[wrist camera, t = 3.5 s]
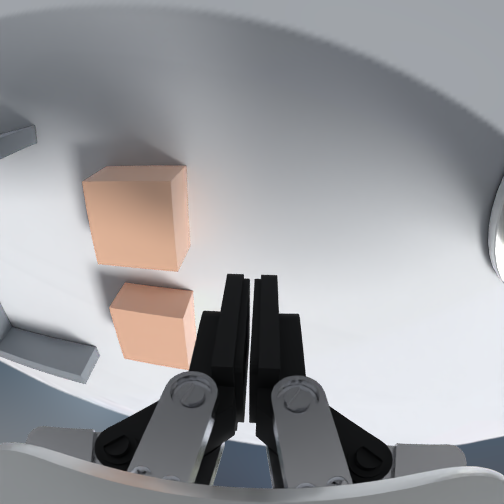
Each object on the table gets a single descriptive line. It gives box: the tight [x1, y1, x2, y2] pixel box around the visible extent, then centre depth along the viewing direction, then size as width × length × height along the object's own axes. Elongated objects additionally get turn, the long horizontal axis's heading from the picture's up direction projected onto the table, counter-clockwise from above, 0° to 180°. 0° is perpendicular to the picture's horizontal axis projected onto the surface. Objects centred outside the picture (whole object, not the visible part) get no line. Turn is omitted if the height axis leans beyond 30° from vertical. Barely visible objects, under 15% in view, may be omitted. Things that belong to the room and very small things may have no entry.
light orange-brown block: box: [82, 165, 190, 272], centre depth 17 cm, size 5×5×3 cm
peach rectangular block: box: [109, 283, 196, 370], centre depth 21 cm, size 5×5×3 cm
